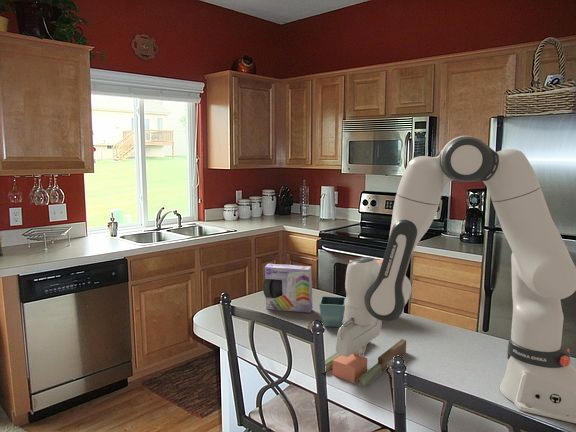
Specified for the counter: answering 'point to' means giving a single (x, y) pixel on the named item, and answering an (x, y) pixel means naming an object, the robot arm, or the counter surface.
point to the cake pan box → (288, 287)
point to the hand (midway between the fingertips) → (358, 359)
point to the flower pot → (332, 310)
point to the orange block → (349, 367)
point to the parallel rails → (377, 368)
